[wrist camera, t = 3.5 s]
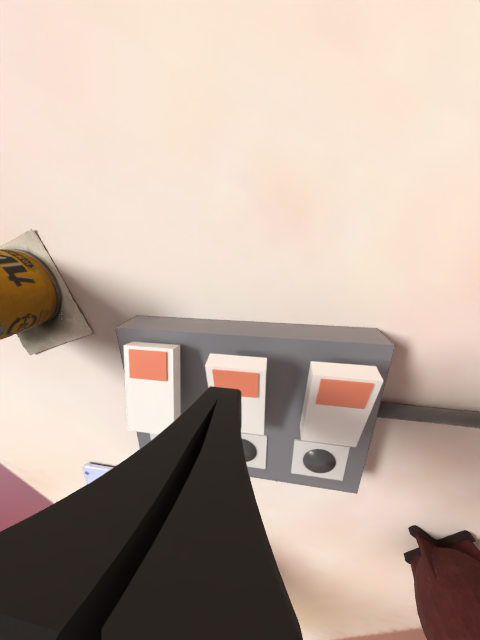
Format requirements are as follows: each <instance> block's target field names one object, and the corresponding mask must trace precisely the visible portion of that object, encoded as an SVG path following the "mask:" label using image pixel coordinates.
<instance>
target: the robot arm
mask: <svg viewBox="0 0 480 640" xmlns="http://www.w3.org/2000/svg"><path fill="white" fill-rule="evenodd" d="M241 426H242V403H241V391H240V390H239V389H232V388H222V387H212V386H210V387H209V388H208V389H207V390H206V391H205V392H204V393H203V394H202V395H201V396H200V397H199V398H198V399H197V400H196V401H195V402H194V403H193V404H192V405H191V406H190V407H189V408H188V409H187V410H186V411H184V412H183V413H182V414H181V415H180V416H179V417H178V418H177V419H176V420H175V421H174V422H173V423H171V424H170V425H169V426H168V427H167V428H166V429H164V430H163V431H162V432H161V433H160V434H159V435H157V436H156V437H155V438H154V439H153V440H151V441H150V442H149V443H147V444H146V445H145V446H144V447H142V448H141V449H140V450H138V451H137V452H136V453H134V454H133V455H131V456H130V457H129V458H127V459H126V460H125V461H123V462H122V463H120V464H119V465H117V466H115V467H108V466H102V465H96V464H90V463H86V464H84V466H83V467H82V470H83V473H84V476H85V479H86V482H87V485H86V486H84V487H82V488H81V489H79V490H77V491H76V492H74V493H72V494H71V495H69V496H67V497H65V498H64V499H62V500H60V501H58V502H56V503H55V504H53V505H51V506H49V507H47V508H46V509H44V510H42V511H40V512H38V513H36V514H34V515H33V516H31V517H29V518H27V519H25V520H23V521H21V522H19V523H17V524H15V525H13V526H11V527H9V528H7V529H5V530H3V531H1V532H0V640H303V638H302V633H301V629H300V625H299V622H298V619H297V617H296V614H295V612H294V609H293V606H292V604H291V601H290V599H289V596H288V594H287V591H286V588H285V585H284V583H283V580H282V577H281V575H280V572H279V569H278V567H277V564H276V561H275V558H274V555H273V552H272V549H271V546H270V544H269V541H268V538H267V535H266V531H265V528H264V525H263V522H262V519H261V515H260V512H259V509H258V506H257V503H256V499H255V496H254V492H253V488H252V485H251V481H250V477H249V473H248V468H247V464H246V459H245V454H244V449H243V443H242V437H241Z"/></svg>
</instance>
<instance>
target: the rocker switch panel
mask: <svg viewBox="0 0 480 640" xmlns="http://www.w3.org/2000/svg"><path fill="white" fill-rule="evenodd" d="M115 328H116V333H117V338H118V343H119V348H120V353H121V358H122V363H123V368H124V346H123V345H126V344H128V343H131V342H147V343H160V344H174V345H180V406H181V414H182V413H183V412H184V411H186V410H187V409H188V408H189V407H190V406H191V405H192V404H193V403H194V402H195V401H196V400H197V399H198V398H199V397H200V396H201V395H202V394H203V393H204V392H205V391H206V390H207V389H208V382H207V375H206V369H205V364H206V362H207V360H208V357H209V355H210V353H211V354H224V355H237V356H250V357H263V358H267V372H266V401H265V425H264V435H257V434H249V433H241V437H242V443H243V449H244V454H245V459H246V464H247V468H248V473H249V477H255V478H261V479H268V480H274V481H280V482H287V483H293V484H299V485H306V486H312V487H318V488H325V489H331V490H337V491H344V492H350V493H357V492H358V488H359V484H360V480H361V476H362V472H363V468H364V465H365V461H366V457H367V453H368V449H369V445H370V441H371V437H372V433H373V429H374V425H375V421H376V417H381V418H391V419H400V420H409V421H418V422H428V423H437V424H446V425H455V426H465V427H474V428H480V412H471V411H461V410H451V409H440V408H430V407H420V406H410V405H400V404H390V403H380V402H381V398H382V394H383V390H384V386H385V382H386V378H387V374H388V370H389V366H390V362H391V358H392V355H393V351H394V347H395V345H394V344H393V343H392V342H391V341H390V340H389V339H388V338H387V337H385V336H384V335H383V334H382V333H381V332H380V331H379V330H378V329H377V328H361V327H342V326H323V325H304V324H286V323H267V322H248V321H230V320H211V319H192V318H173V317H155V316H135V317H134V318H132V319H130V320H128V321H126V322H125V323H123V324H121V325H119V326H117V327H115ZM311 361H315V362H328V363H341V364H354V365H367V366H376V367H377V369H378V371H379V373H380V375H381V377H382V379H383V383H382V386H381V388H380V391H379V393H378V395H377V398H376V400H375V403H374V405H373V407H372V410H371V412H370V415H369V417H368V419H367V422H366V424H365V426H364V429H363V431H362V434H361V436H360V438H359V441H358V443H357V446H356V447H350V446H343V445H335V444H327V443H319V442H312V441H304V440H301V434H300V422H301V416H302V410H303V404H304V398H305V392H306V387H307V381H308V375H309V369H310V363H311ZM124 373H125V369H124ZM157 435H159V434H152V433H145V432H137V436H138V441H139V446H140V449H141V448H142V447H144V446H145V445H146V444H147V443H149V442H150V441H151V440H153V439H154V438H155V437H156V436H157Z"/></svg>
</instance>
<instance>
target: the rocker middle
mask: <svg viewBox="0 0 480 640" xmlns="http://www.w3.org/2000/svg"><path fill="white" fill-rule="evenodd" d="M205 369H206V375H207V382H208V388H209V387H210V386H212V387H222V388H232V389H239V390H240V391H241V403H242V426H241V433H249V434H257V435H264V425H265V401H266V372H267V358H263V357H250V356H237V355H224V354H211V353H210V355H209V357H208V360H207V362H206V364H205Z"/></svg>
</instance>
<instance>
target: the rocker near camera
mask: <svg viewBox="0 0 480 640" xmlns="http://www.w3.org/2000/svg"><path fill="white" fill-rule="evenodd" d="M382 383H383V379H382V377H381V375H380V373H379V371H378V369H377V367H376V366H367V365H354V364H341V363H328V362H315V361H311V363H310V369H309V375H308V381H307V387H306V392H305V398H304V404H303V410H302V416H301V422H300V434H301V440H304V441H312V442H319V443H327V444H335V445H343V446H350V447H356V446H357V443H358V441H359V438H360V436H361V434H362V431H363V429H364V426H365V424H366V422H367V419H368V417H369V415H370V412H371V410H372V407H373V405H374V403H375V400H376V398H377V395H378V393H379V391H380V388H381V386H382Z"/></svg>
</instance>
